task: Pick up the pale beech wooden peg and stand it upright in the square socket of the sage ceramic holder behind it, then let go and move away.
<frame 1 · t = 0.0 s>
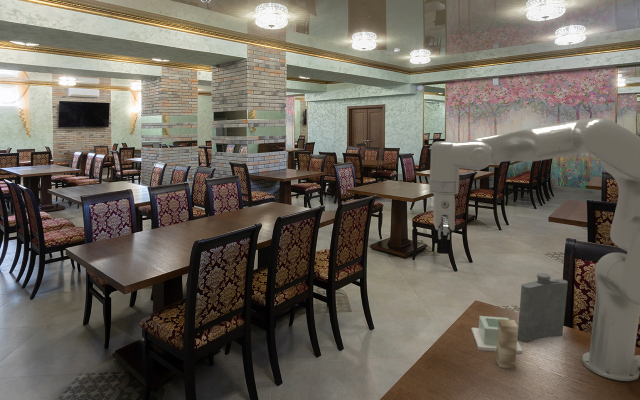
hand: (441, 248, 113), 31 cm above the table, tool pointing down, fingers open, 9 cm apart
socket holder: (495, 341, 123), on the table
hip flask: (538, 336, 126), on the table
beech peg: (505, 363, 111), on the table
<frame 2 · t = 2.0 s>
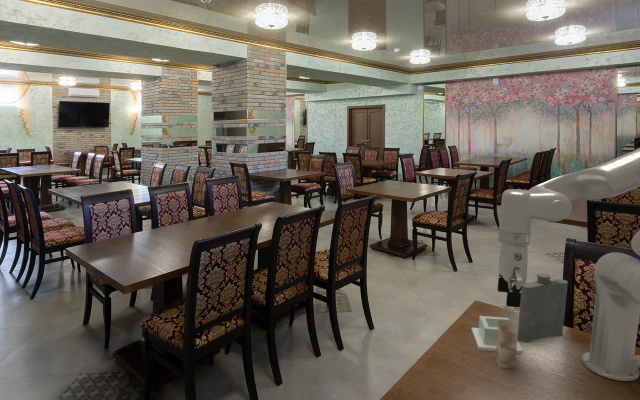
hand: (508, 298, 108), 19 cm above the table, tool pointing down, fingers open, 9 cm apart
nothing on the table moved.
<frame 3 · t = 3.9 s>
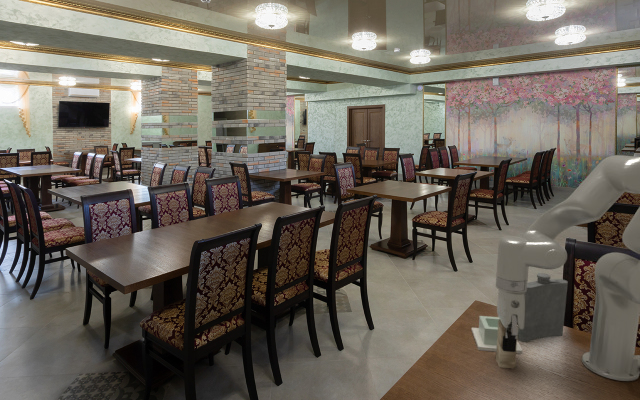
hand: (506, 345, 111), 5 cm above the table, tool pointing down, fingers closed on beech peg, 4 cm apart
beech peg: (505, 363, 111), on the table, touching gripper
everything else where it was.
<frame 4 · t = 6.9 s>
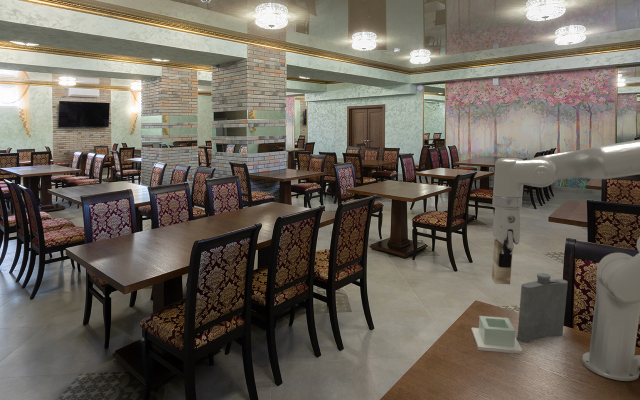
hand: (502, 263, 117), 25 cm above the table, tool pointing down, fingers closed on beech peg, 4 cm apart
beech peg: (500, 281, 118), point 20 cm above the table, touching gripper
everything else where it was.
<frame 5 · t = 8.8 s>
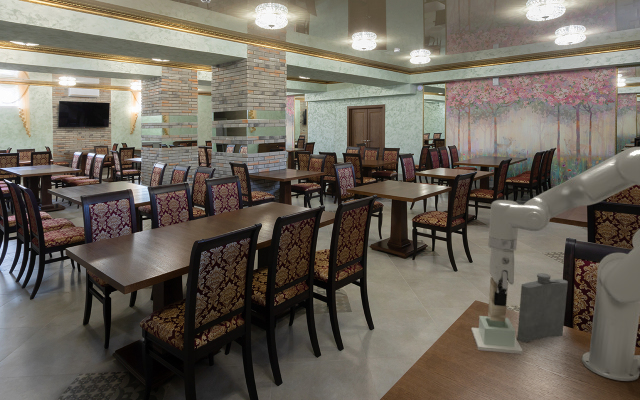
hand: (498, 301, 121), 13 cm above the table, tool pointing down, fingers closed on beech peg, 4 cm apart
beech peg: (496, 317, 122), point 8 cm above the table, touching gripper
everything else where it was.
when the fingers open (8 cm above the table, at t = 10.2 s): beech peg drops 1 cm, resting on socket holder.
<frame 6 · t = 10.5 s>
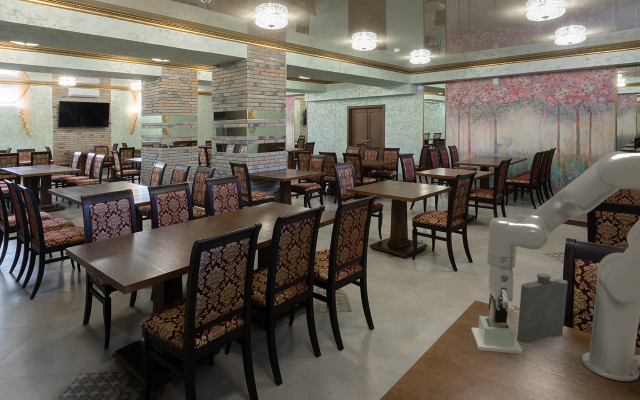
hand: (497, 315, 122), 8 cm above the table, tool pointing down, fingers open, 7 cm apart
beech peg: (495, 338, 123), point 1 cm above the table, touching socket holder
everything else where it was.
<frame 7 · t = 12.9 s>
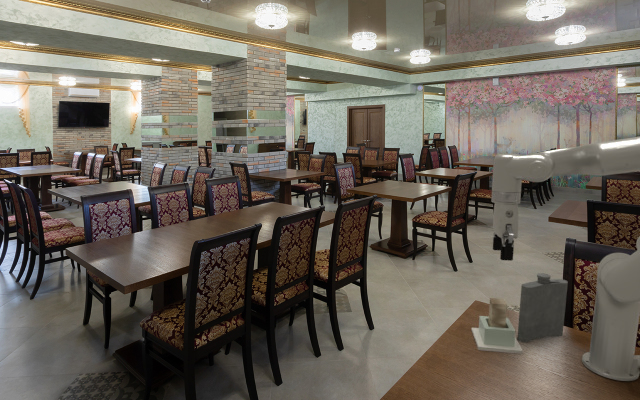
hand: (502, 254, 118), 27 cm above the table, tool pointing down, fingers open, 9 cm apart
nothing on the table moved.
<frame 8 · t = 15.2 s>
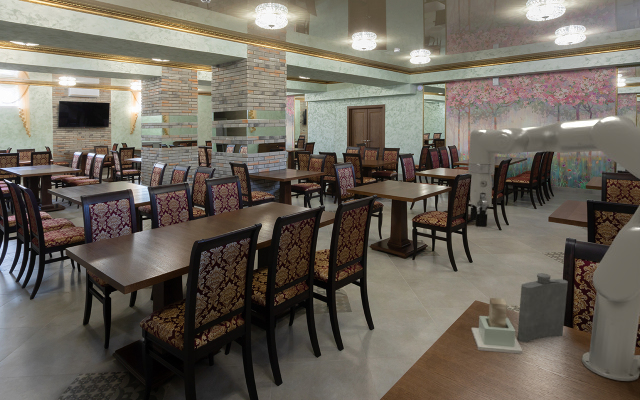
hand: (478, 223, 129), 34 cm above the table, tool pointing down, fingers open, 9 cm apart
nothing on the table moved.
at the end: beech peg 0.0 cm off-centre on the socket holder, point 1.0 cm above the socket holder's base; beech peg tilted 0°; the gripper is holding nothing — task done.
